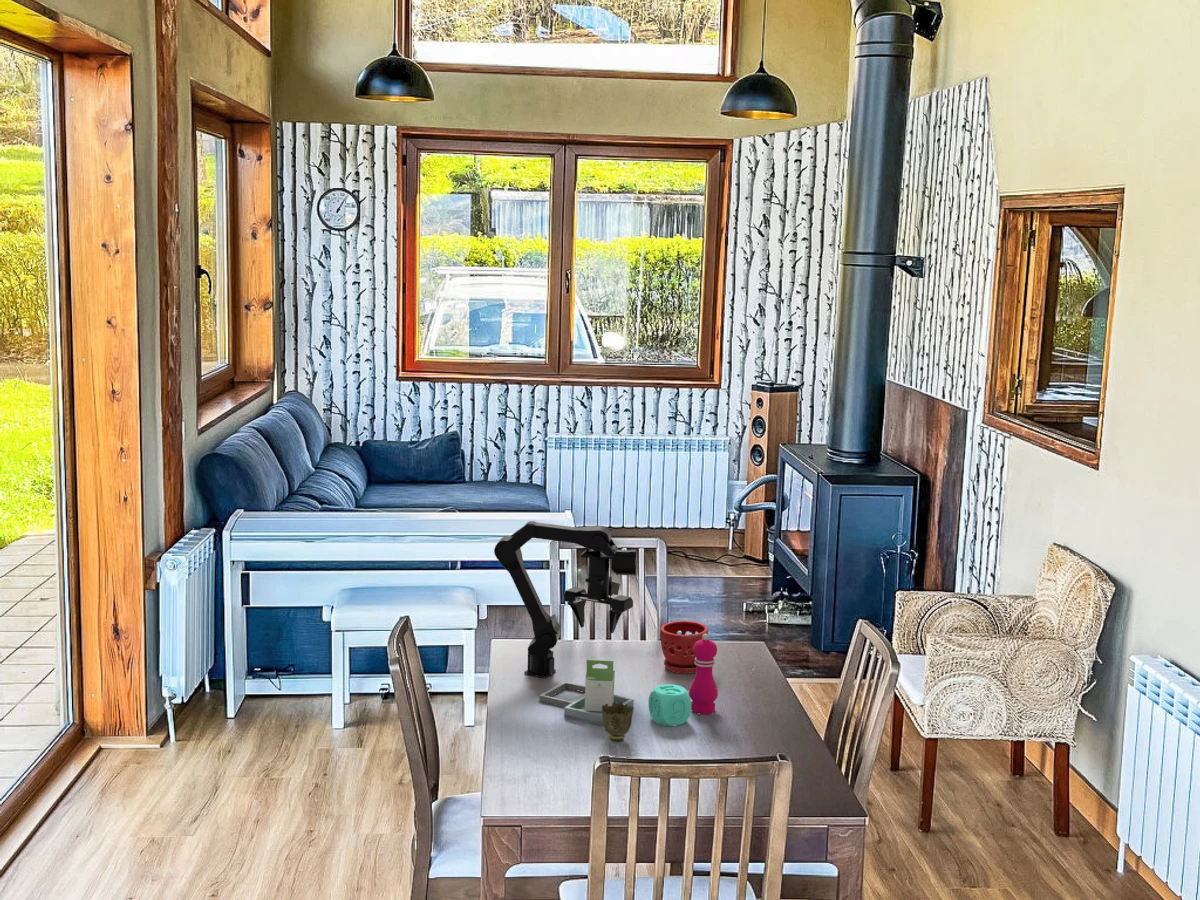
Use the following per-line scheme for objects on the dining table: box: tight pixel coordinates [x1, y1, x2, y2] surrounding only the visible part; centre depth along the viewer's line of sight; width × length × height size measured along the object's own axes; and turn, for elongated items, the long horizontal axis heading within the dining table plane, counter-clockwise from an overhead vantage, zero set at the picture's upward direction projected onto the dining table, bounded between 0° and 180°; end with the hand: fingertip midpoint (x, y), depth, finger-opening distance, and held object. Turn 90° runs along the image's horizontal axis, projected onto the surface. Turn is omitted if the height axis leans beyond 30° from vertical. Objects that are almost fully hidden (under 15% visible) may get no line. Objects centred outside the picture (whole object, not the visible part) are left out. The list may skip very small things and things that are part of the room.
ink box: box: [584, 659, 616, 712], centre depth 317 cm, size 7×4×13 cm, turn 84°
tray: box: [563, 694, 635, 727], centre depth 318 cm, size 12×15×2 cm
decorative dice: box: [648, 683, 692, 727], centre depth 314 cm, size 8×8×8 cm
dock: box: [539, 681, 585, 707], centre depth 328 cm, size 10×13×2 cm
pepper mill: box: [688, 633, 719, 715], centre depth 321 cm, size 7×7×20 cm
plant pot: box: [659, 620, 709, 675], centre depth 352 cm, size 13×13×12 cm
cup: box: [602, 702, 634, 743], centre depth 301 cm, size 8×7×8 cm
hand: (597, 630), depth 343 cm, fingers open, 9 cm apart
